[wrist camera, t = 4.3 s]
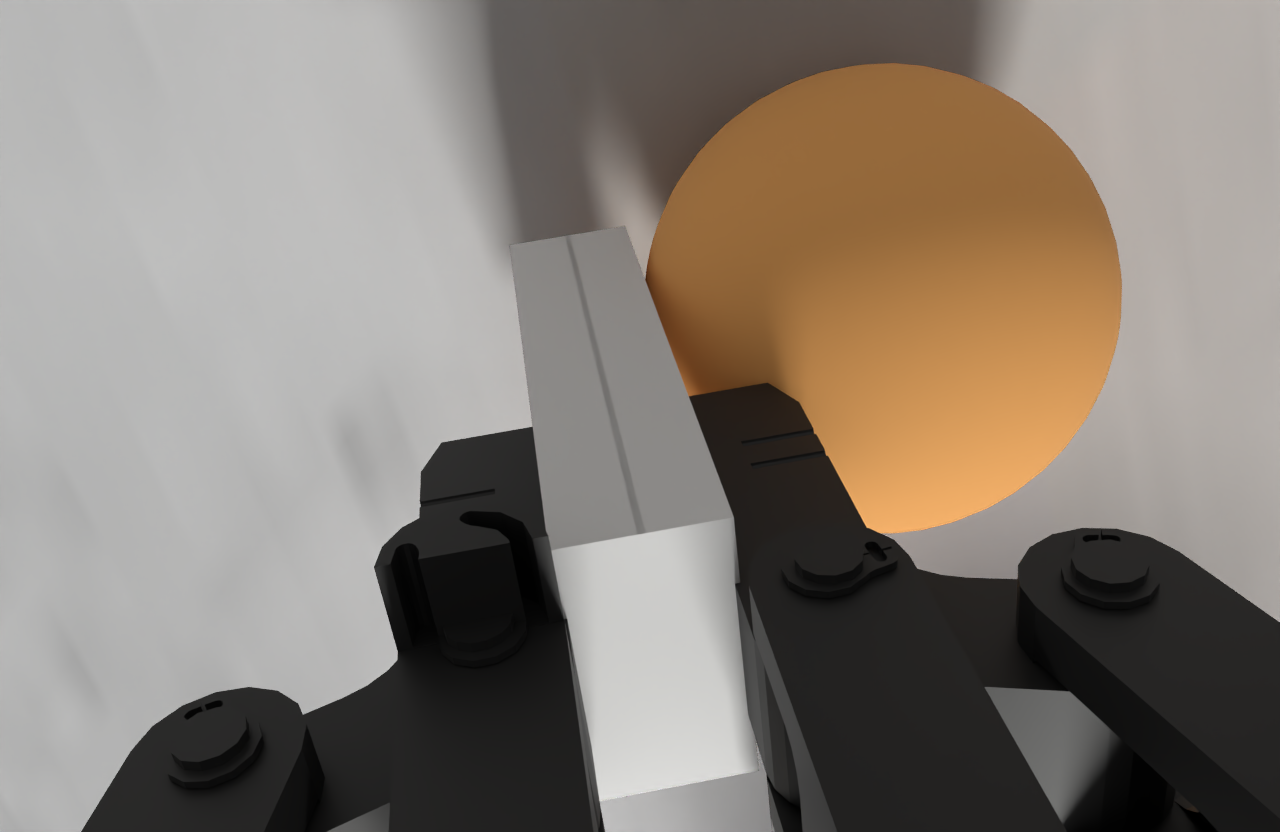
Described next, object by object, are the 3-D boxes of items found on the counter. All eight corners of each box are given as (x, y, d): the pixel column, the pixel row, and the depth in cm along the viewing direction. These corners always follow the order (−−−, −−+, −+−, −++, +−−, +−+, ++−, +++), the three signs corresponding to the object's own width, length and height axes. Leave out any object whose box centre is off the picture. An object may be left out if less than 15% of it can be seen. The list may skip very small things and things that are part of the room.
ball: (752, 12, 17) (1187, 15, 14) (773, 372, 19) (1144, 431, 17) (520, 131, 13) (1068, 168, 10) (587, 564, 15) (1036, 685, 13)
